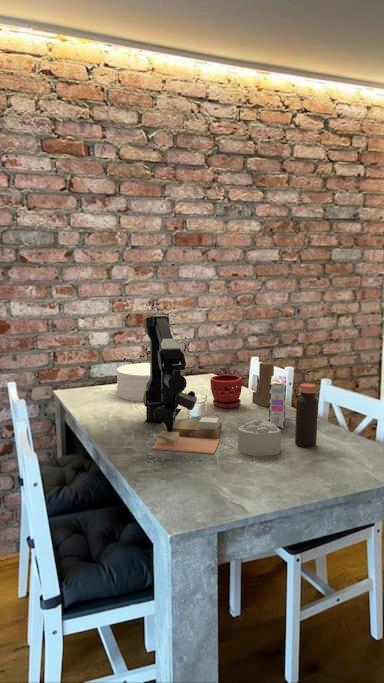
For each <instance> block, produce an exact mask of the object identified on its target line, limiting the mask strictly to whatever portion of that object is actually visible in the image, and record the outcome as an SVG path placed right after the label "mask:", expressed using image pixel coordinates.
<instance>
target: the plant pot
mask: <svg viewBox="0 0 384 683" xmlns="http://www.w3.org/2000/svg"><path fill="white" fill-rule="evenodd" d="M242 380H243V379H242V377H241V376H239V375H235V374H220V375H219V374H218V375H214V376H212V377H210V380H209V381H210V383H209V384H210V392H211V395H212V397H213V400H212V403H213V405H214V406H216V407H219V408H222V409H223V408H224V409H225V408H228V409H229V408H235V407H238V406H239V405H240V404H241V403H242V402H241V401H242V400H241V399H239V398H240V397H241V394H242V389H243V388H242V386H243V383H242V382H243V381H242Z"/></svg>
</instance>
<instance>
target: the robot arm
mask: <svg viewBox="0 0 384 683" xmlns="http://www.w3.org/2000/svg"><path fill="white" fill-rule="evenodd" d="M143 328H144V329H145V333H146V335H147V337H148V338H149V359H150V360H149V363H150V380H149V381H148V383H147V385H146V391H145V392H144V397H143V401H142V402H143V405H144V407H145V409H146V410H145V412H146V414H145V415H146V417H145V418H146V419H145V420H144V423H155V424H162V423H163V424H164V425H165V427H166V428H167V430H168V432H172V430H173V426H174V422H175V419H177V418H176V417H177V416H178V415H179V413H180V412H181V411H182V408H184V409H187V410H188V411H193V409H194V407H195V405H196V403H197V400H198V398H197V397H196V392H195V391H192V390H190V391H189V392H188V393H187V392H183V391H185V389H186V387H187V383H188V382H187V379H186V377H184V376H183V375H182V373H181V371H184V370H186V366H187V362H186V358H185V353H184V352H183V350H182V349H181V347H180V344H179V342H177V341H175V340H174V338H173V335H172V332H171V327H170V318H169V316H168V315H167V314H155V315H147V317H144V319H143ZM179 406H181V407H182V408H178V407H179Z"/></svg>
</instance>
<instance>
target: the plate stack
mask: <svg viewBox="0 0 384 683" xmlns="http://www.w3.org/2000/svg"><path fill="white" fill-rule="evenodd" d="M116 374H117V375H116V379H117V380H116V384H117V387H116V388H117V389H116V390H117V391H116V392H117V393H116V395H117V394H118V395H117V396H118V397H119V396H120V397H119V398H121V397H122V399H124V400H128V399H129V400H128V401H134V400H136V402H143V397H144V392H145V391H146V385H147V383H148V381H149V380H150V362H140V363H137V362H136V363H130V364H125V365H122V366H121V365H120V366H118V367H117V368H116Z"/></svg>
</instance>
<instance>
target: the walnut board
mask: <svg viewBox="0 0 384 683" xmlns="http://www.w3.org/2000/svg"><path fill="white" fill-rule="evenodd" d="M199 421H200V420H193V419H191V420H189V419H177V418H175V422H174V426H173V430H172V432H178V433H179V436H184V437H197V438H210V439H219V436H220V435H221V432H222V426H223V425H222V424H223V423H222V422H221V421H219V426H218V428H217V430H212V429H199ZM164 431H167V432H168V430H167V428H166V426H165V430H164Z"/></svg>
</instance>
